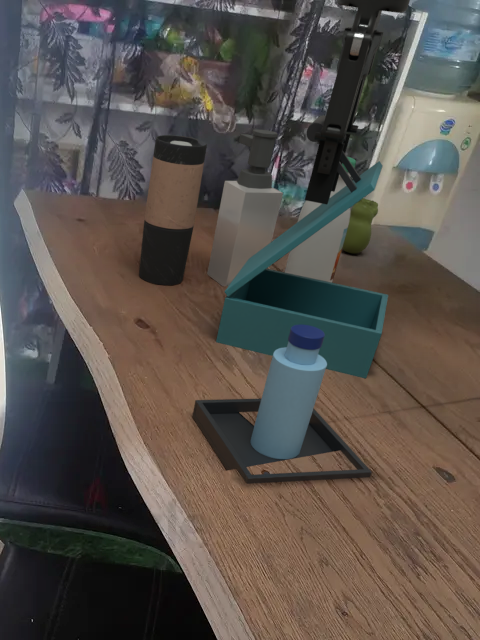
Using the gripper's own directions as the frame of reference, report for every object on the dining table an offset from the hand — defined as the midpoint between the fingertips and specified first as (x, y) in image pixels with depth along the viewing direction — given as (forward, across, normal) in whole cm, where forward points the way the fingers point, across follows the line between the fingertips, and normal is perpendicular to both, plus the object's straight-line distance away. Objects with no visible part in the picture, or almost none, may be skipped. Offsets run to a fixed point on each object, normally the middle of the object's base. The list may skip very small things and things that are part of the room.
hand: (320, 194), depth 90 cm
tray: (+19, -30, -4) cm, 36 cm away
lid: (+5, 0, +1) cm, 5 cm away
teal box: (+19, 0, -2) cm, 19 cm away
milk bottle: (+19, +23, 0) cm, 30 cm away
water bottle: (+19, -30, -4) cm, 36 cm away
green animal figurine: (+19, +51, -5) cm, 55 cm away
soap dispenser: (+19, +21, +12) cm, 31 cm away
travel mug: (+19, +14, +22) cm, 32 cm away
